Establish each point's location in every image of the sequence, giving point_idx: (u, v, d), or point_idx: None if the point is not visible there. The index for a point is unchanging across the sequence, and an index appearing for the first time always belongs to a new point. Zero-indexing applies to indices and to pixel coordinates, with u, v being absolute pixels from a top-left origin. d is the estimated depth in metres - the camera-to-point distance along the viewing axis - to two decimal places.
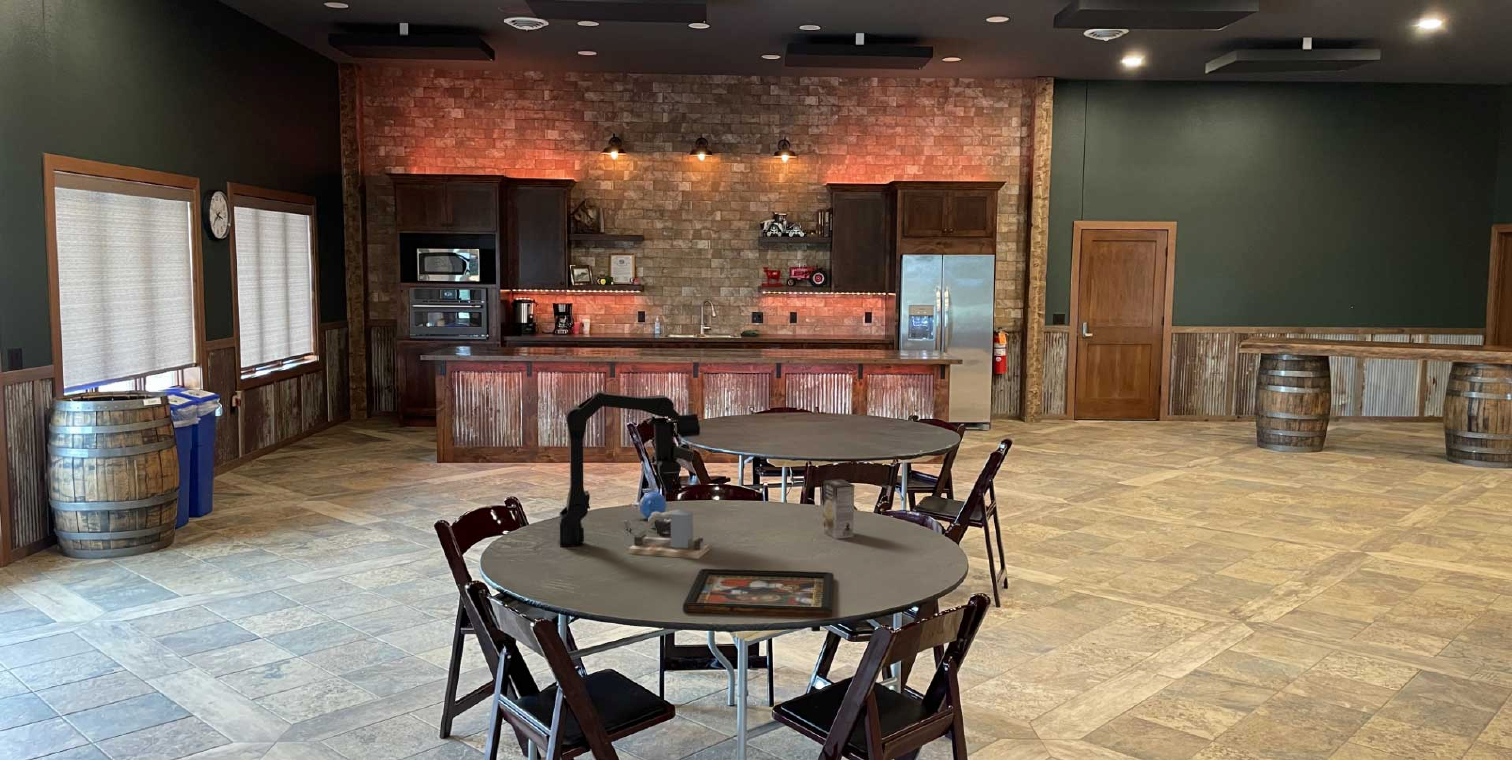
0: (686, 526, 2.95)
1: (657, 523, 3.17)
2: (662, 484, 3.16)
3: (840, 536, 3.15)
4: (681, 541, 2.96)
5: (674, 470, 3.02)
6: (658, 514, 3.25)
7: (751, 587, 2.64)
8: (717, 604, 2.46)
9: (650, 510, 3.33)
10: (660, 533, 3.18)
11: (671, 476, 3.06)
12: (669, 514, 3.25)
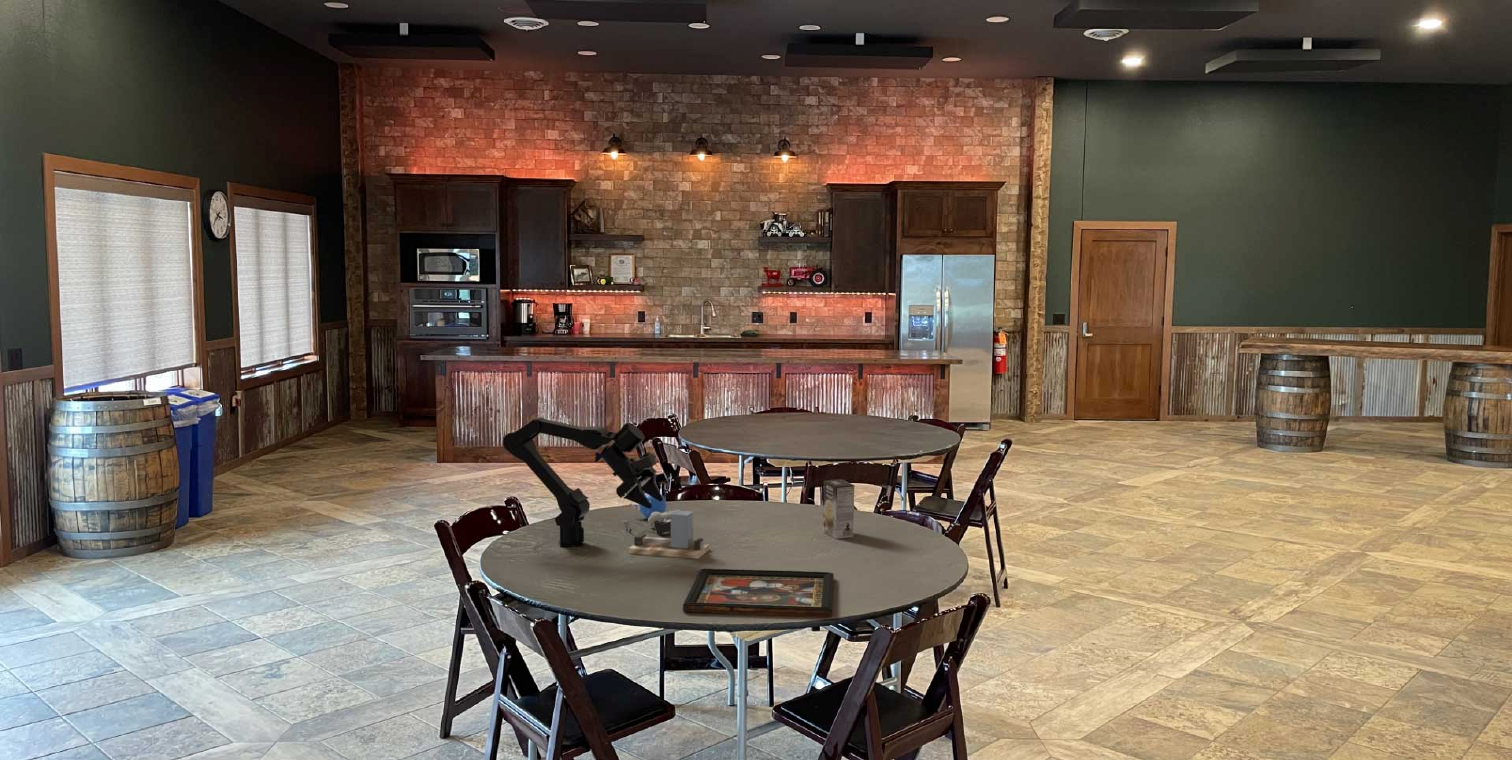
0: (686, 526, 2.95)
1: (657, 523, 3.17)
2: (658, 498, 3.04)
3: (840, 536, 3.15)
4: (681, 541, 2.96)
5: (629, 487, 2.90)
6: (658, 514, 3.25)
7: (751, 587, 2.64)
8: (717, 604, 2.46)
9: (650, 510, 3.33)
10: (660, 533, 3.17)
11: (637, 492, 2.94)
12: (669, 514, 3.24)
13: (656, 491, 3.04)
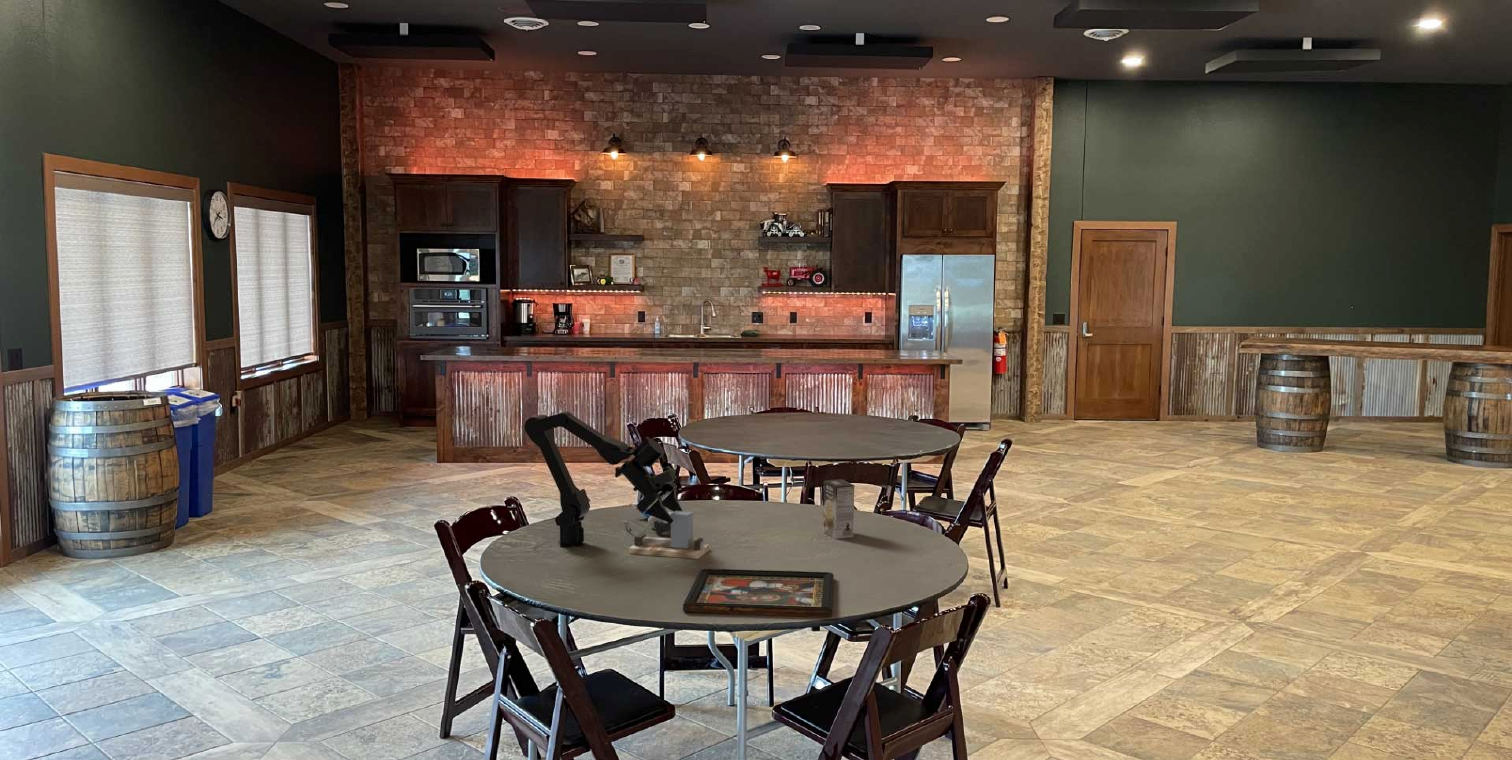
0: (686, 526, 2.95)
1: (656, 524, 3.16)
2: None
3: (840, 536, 3.15)
4: (681, 541, 2.96)
5: (649, 502, 2.89)
6: None
7: (751, 587, 2.64)
8: (717, 604, 2.46)
9: None
10: (659, 534, 3.17)
11: (658, 507, 2.92)
12: None
13: (677, 505, 3.02)
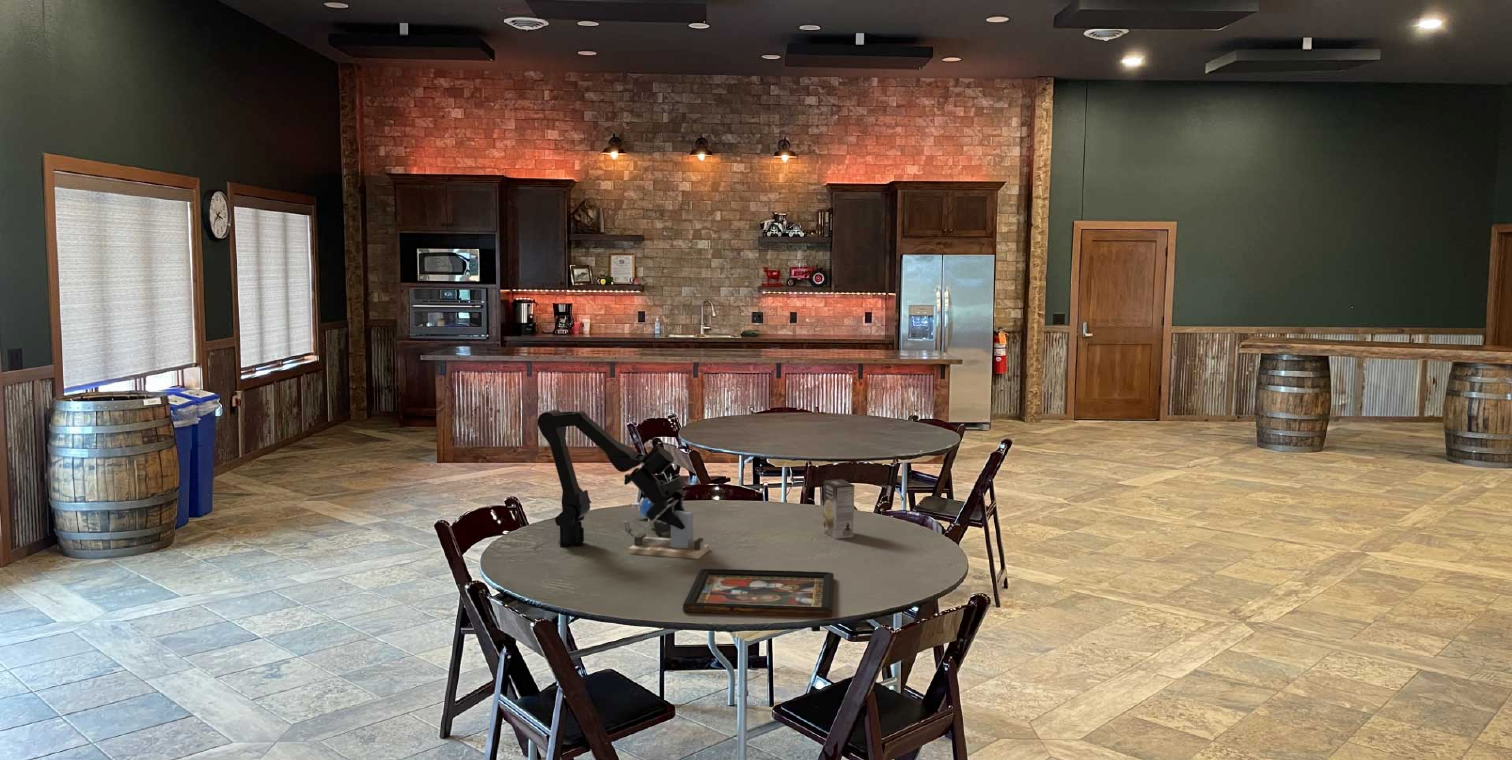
0: (686, 526, 2.95)
1: (656, 524, 3.16)
2: None
3: (840, 536, 3.15)
4: (681, 541, 2.96)
5: (659, 510, 2.89)
6: (658, 515, 3.24)
7: (751, 587, 2.64)
8: (717, 604, 2.46)
9: None
10: (659, 534, 3.16)
11: (670, 513, 2.94)
12: None
13: None
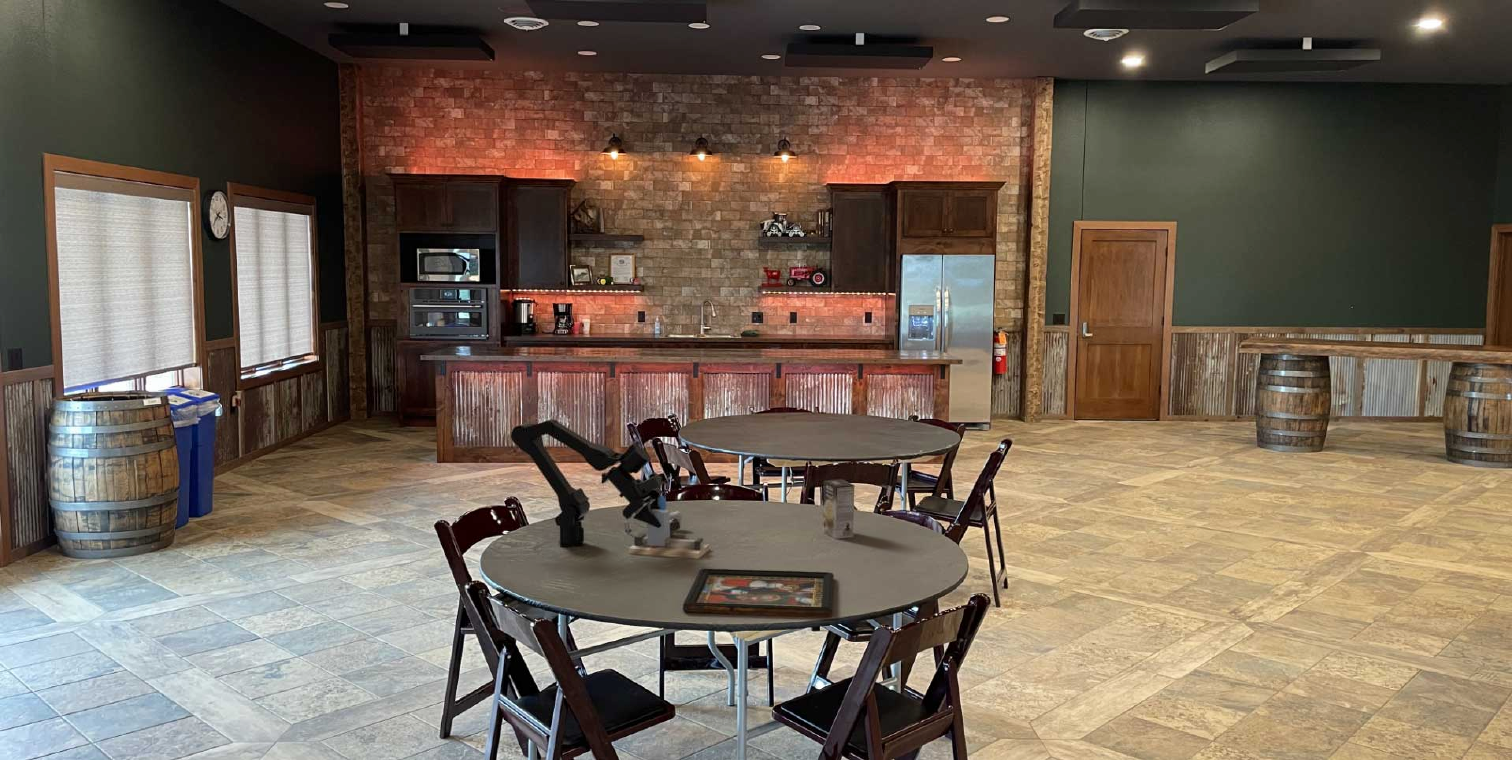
0: (662, 524, 2.96)
1: None
2: None
3: (840, 536, 3.15)
4: (658, 539, 2.97)
5: (635, 509, 2.90)
6: None
7: (751, 587, 2.64)
8: (717, 604, 2.46)
9: None
10: None
11: (647, 512, 2.96)
12: None
13: None
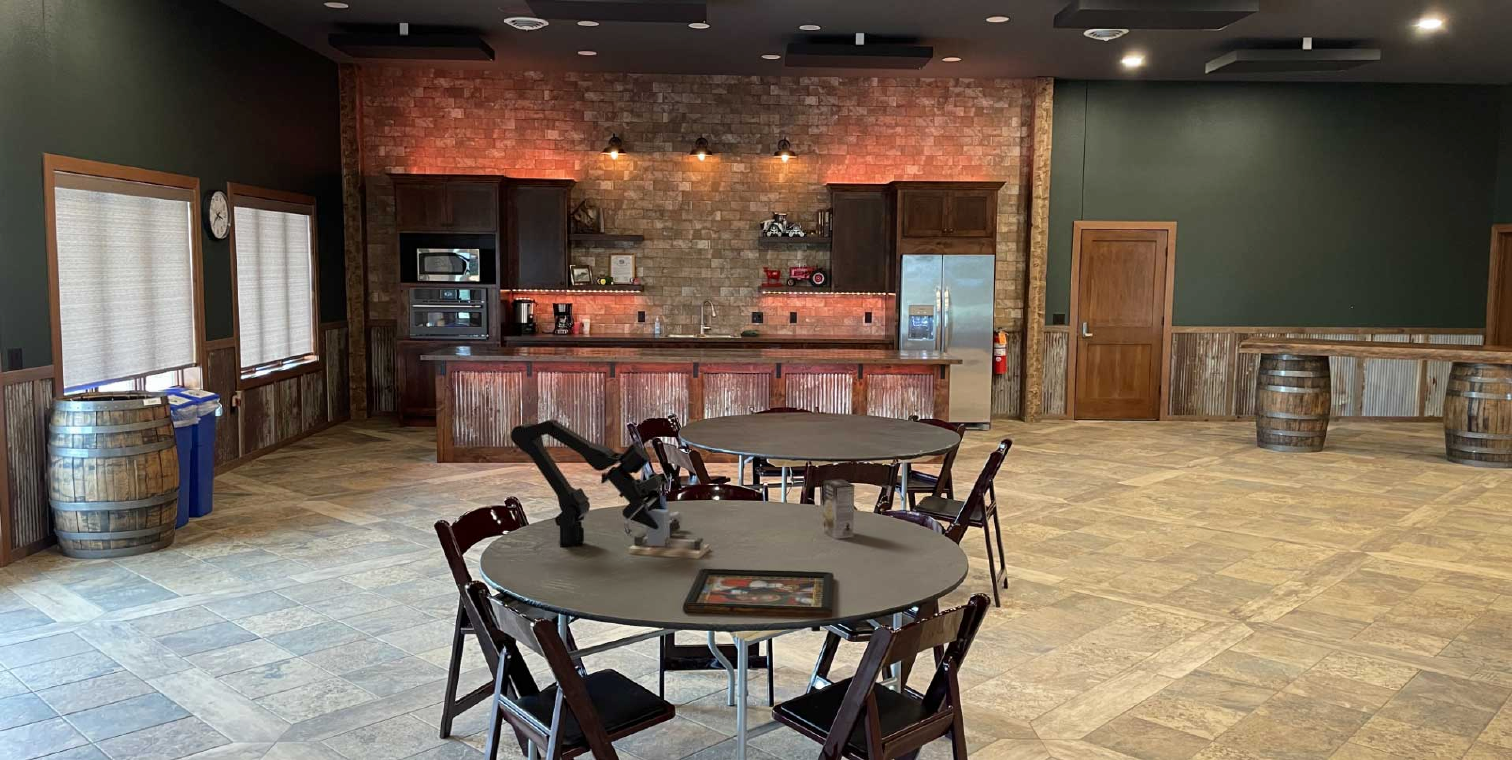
0: (662, 524, 2.96)
1: None
2: None
3: (840, 536, 3.15)
4: (657, 539, 2.97)
5: (635, 508, 2.90)
6: None
7: (751, 587, 2.64)
8: (717, 604, 2.46)
9: None
10: None
11: (644, 513, 2.94)
12: None
13: None
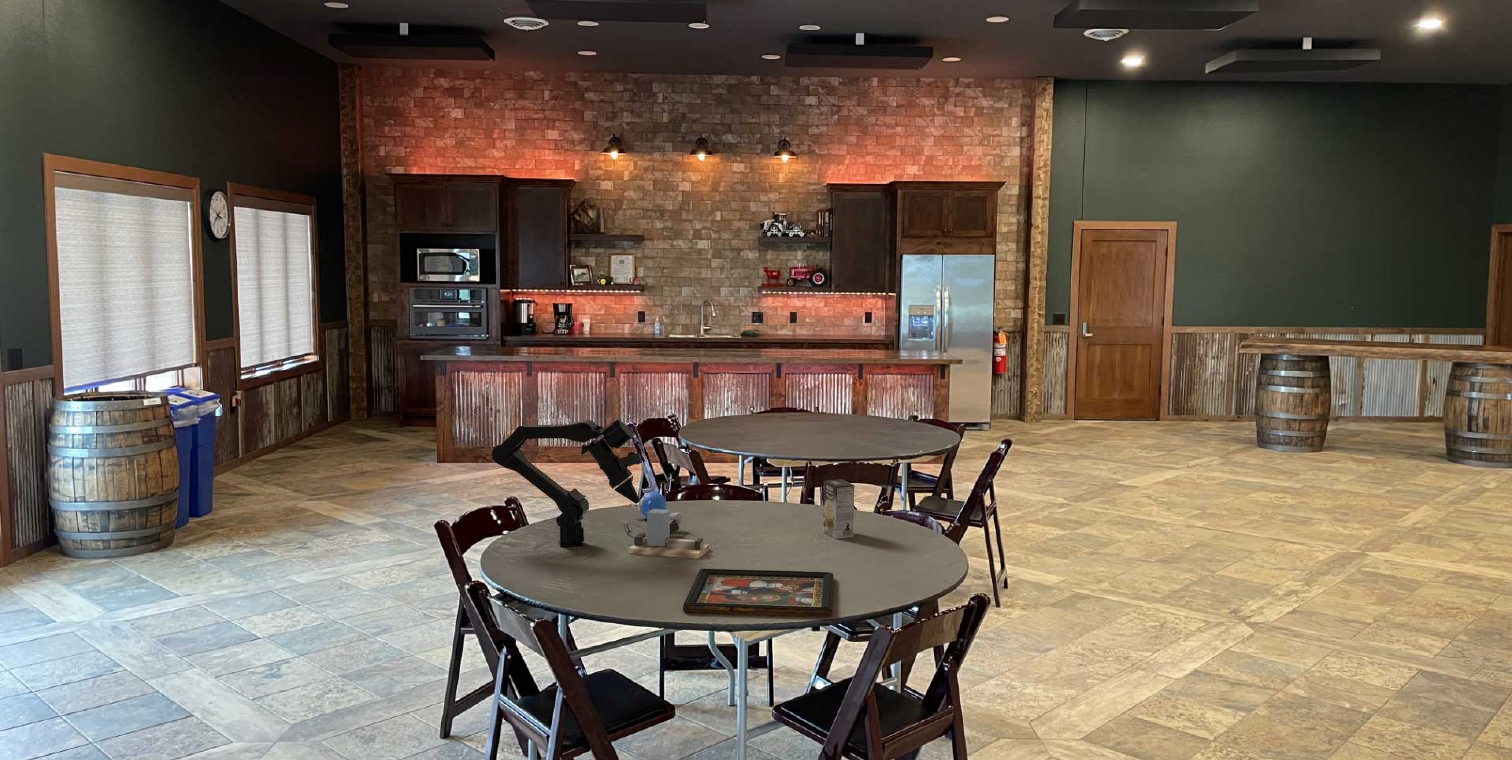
0: (662, 524, 2.96)
1: None
2: None
3: (840, 536, 3.15)
4: (657, 539, 2.97)
5: (623, 478, 2.94)
6: None
7: (751, 587, 2.64)
8: (717, 604, 2.46)
9: (650, 510, 3.33)
10: None
11: (628, 485, 2.97)
12: None
13: (634, 491, 3.07)
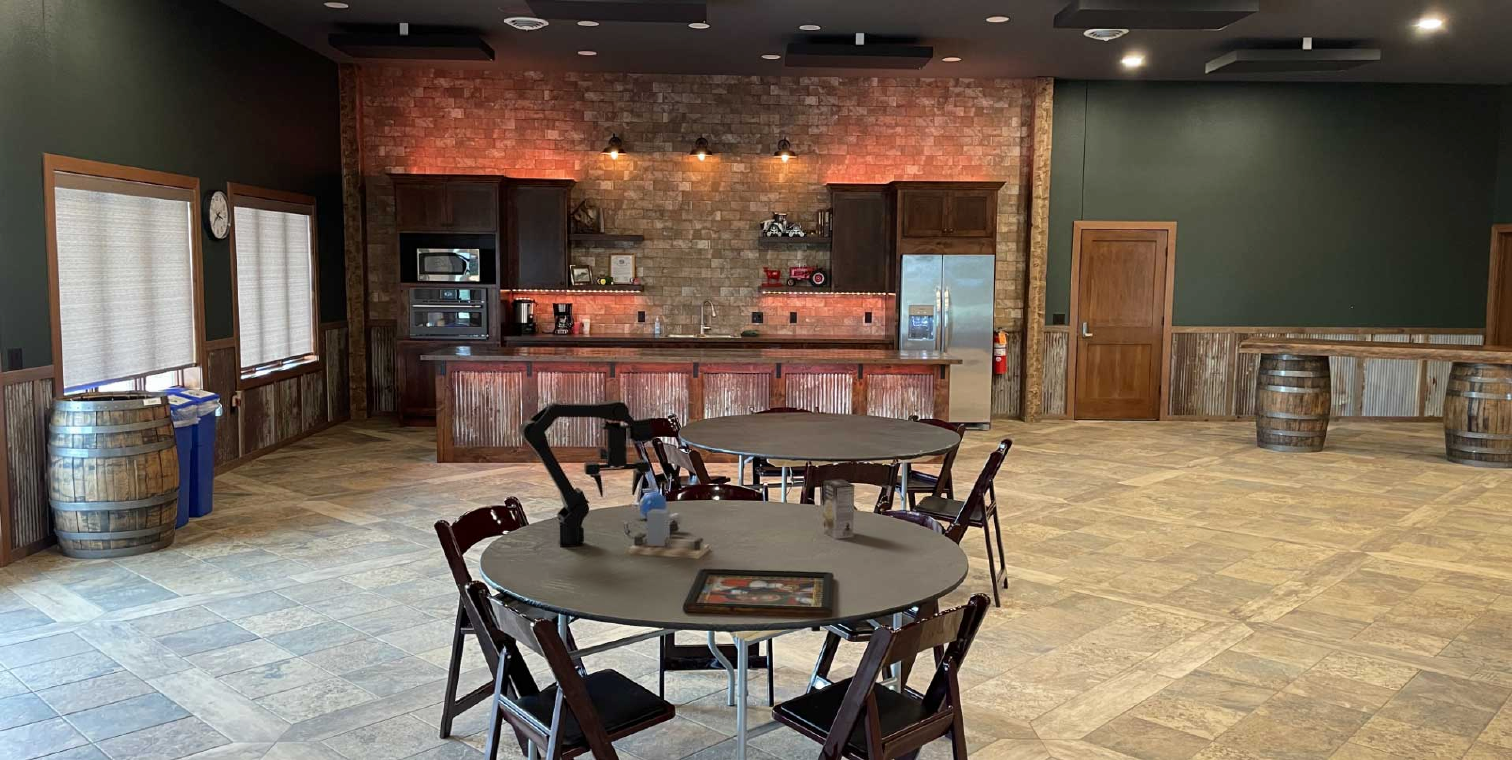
0: (662, 524, 2.96)
1: None
2: None
3: (840, 536, 3.15)
4: (657, 539, 2.97)
5: None
6: None
7: (751, 587, 2.64)
8: (717, 604, 2.46)
9: (650, 510, 3.33)
10: None
11: None
12: None
13: None
